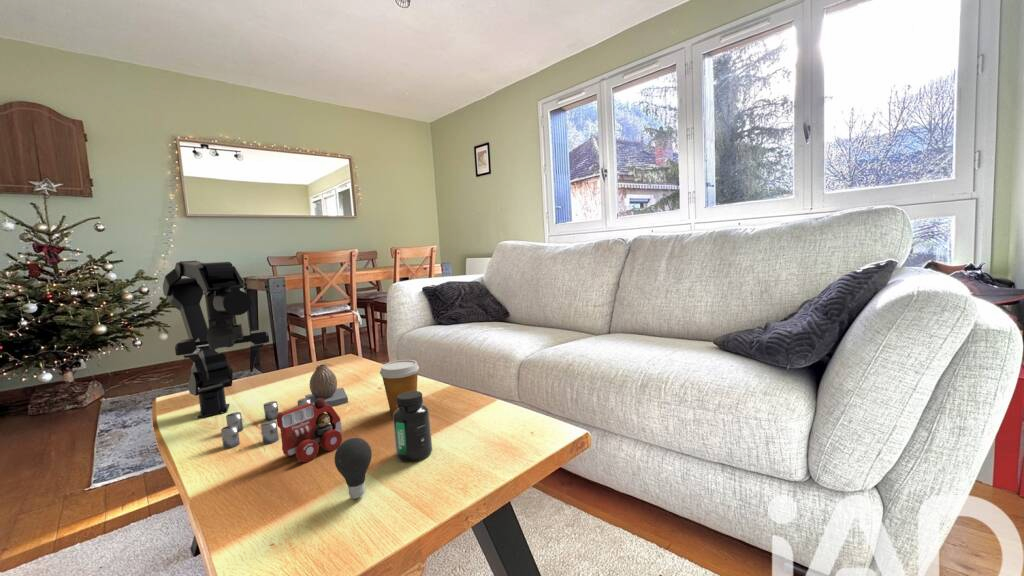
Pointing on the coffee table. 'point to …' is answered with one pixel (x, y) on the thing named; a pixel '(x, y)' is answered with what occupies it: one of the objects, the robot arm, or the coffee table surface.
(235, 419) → the spacer posts
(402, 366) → the disposable coffee cup
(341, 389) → the mat
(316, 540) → the coffee table surface
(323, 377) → the brown textured oval
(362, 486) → the light bulb
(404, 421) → the supplement bottle
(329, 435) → the toy fire truck
